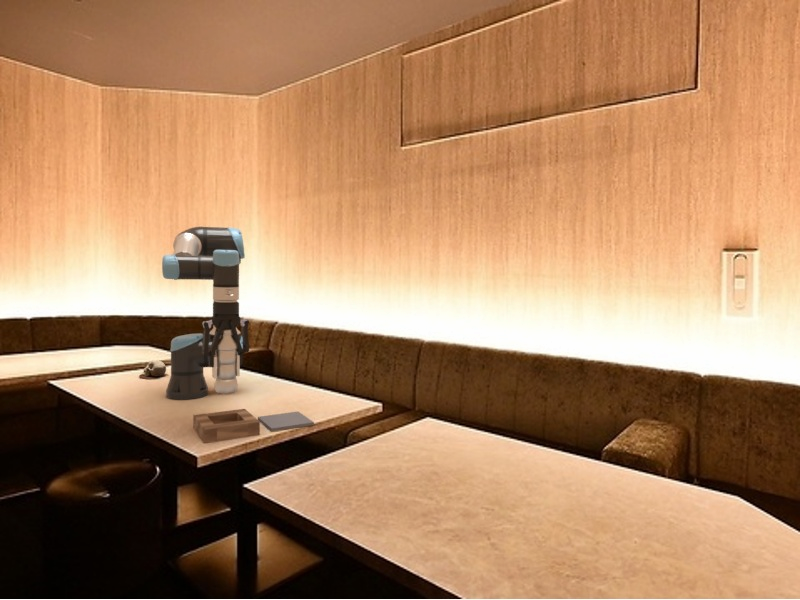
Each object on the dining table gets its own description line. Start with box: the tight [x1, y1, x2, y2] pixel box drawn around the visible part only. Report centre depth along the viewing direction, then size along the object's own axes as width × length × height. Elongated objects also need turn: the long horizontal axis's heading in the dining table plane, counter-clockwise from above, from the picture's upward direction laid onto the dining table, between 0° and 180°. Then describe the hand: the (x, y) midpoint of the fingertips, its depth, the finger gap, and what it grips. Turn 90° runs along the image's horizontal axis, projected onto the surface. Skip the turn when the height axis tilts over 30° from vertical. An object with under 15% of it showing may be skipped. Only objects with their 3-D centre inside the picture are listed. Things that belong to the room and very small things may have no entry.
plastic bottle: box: [214, 329, 239, 395], centre depth 162 cm, size 6×7×20 cm
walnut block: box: [192, 408, 261, 444], centre depth 163 cm, size 16×16×4 cm
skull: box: [139, 359, 170, 380], centre depth 236 cm, size 12×10×10 cm
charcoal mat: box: [257, 411, 315, 432], centre depth 173 cm, size 14×14×1 cm
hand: (226, 376), depth 162 cm, fingers closed on plastic bottle, 6 cm apart
